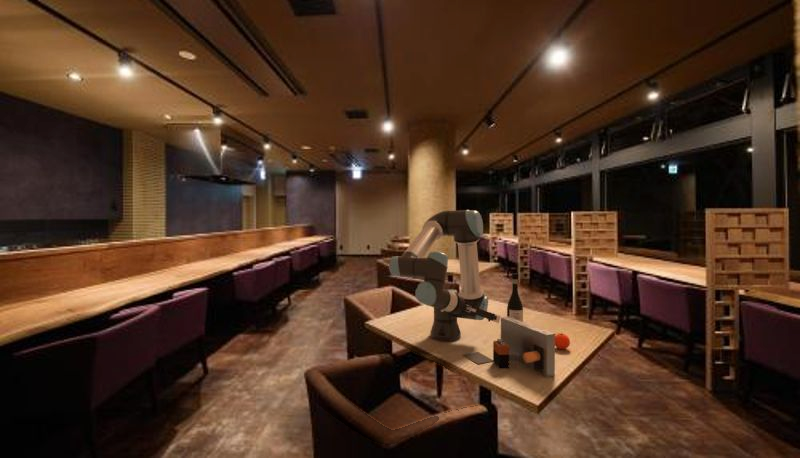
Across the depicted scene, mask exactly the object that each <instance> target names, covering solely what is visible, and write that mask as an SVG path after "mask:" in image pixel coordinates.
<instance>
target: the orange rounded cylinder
mask: <svg viewBox="0 0 800 458" xmlns="http://www.w3.org/2000/svg"><path fill="white" fill-rule="evenodd" d="M523 359H524V361H525V362H526V363H530V362H534V361H539V360H540V354H539V353H538V352H537V351H532V352H527V353H524V354H523Z"/></svg>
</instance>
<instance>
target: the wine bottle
mask: <svg viewBox="0 0 800 458" xmlns="http://www.w3.org/2000/svg"><path fill="white" fill-rule="evenodd" d="M511 274H512V275H511V277H512V290H511V295H510V298H509V300H508V303H507V308H506V317H511V318H513V319H516V320H519V321H522V322H524V306H523V302H522V299H521V297H520V295H519V286H518V285H519V282H518V281H519V280H518V279H519V274H518V273H516V272H515V273H513V272H512V273H511Z"/></svg>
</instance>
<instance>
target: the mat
mask: <svg viewBox="0 0 800 458" xmlns="http://www.w3.org/2000/svg"><path fill="white" fill-rule="evenodd" d="M462 356H463V357H465V358H467V359H468V360H470V361H472V362H473V363H475V364H476V365H478V366H479V365H482V364H483V365H485V364H488V363H492V362H493V358H490V357H488V356H486V355H485V354H483V353H481V352H479V351H477V352H476V351H475V352H470V353H464V354H462ZM493 363H494V362H493Z"/></svg>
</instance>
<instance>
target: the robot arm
mask: <svg viewBox="0 0 800 458" xmlns="http://www.w3.org/2000/svg"><path fill="white" fill-rule="evenodd" d="M483 234H484V223H483V218H482V214H480V212H479V211H477V210H470V209H463V210H459V209H458V210H443V211H440V212H438V213H435V214H434V215H432V216H431V217H429V218H428V219H427V220H426V221H425V222H424V223H423V226H422V229H421V231H420V232H419V233H418V234H417V236H416V237H415V238H414V240H413V241H412V242H411V243H410V245H408V247H407V248H406V250H405V251H404V252H403V253H402V254H401V256H399V255H397V256H392V257H391V258H390V260H389V263H388V270H389V272H390V275H392V276H394V277H399V278H418V279H419V278H420V279H424V280H423V281H422V282H420V283H418V285H417V288H416V289H415V298H416V300H417V301H418V302H419V303H421V304H423V305H426V306H427V307H428V306H429V307H432V308H433V322H432V326H431V329H430V332H429V335H430V336H429V337H430V338H432V339H433V340H435V341H440V342H455V341H458V340H460V339H461V337H462V334H461V330H460V327H459V323H458V319H465V320H466V319H467V320H474V321H483V320H484V319H486V320H487V322H492V321H493V322H494V323H496V324H499V323H500V322H501V318H502V316H501V315H498V314H495V313H494V312H491V311H488V307H489V297H488V296H487V295H485V292H484V290H483V289H481V283H480V282H481V281H480V268H479V267H480V266H479V254H478V244H477V243H478V242H479V241H480V238H481V237H482V236H483ZM445 236H446V237H447V236H448V237H453V241H454V242H455V243H456V244H457V248H458V249H457V251H458V259H459V261H458V263H459V271H460V273H459V274H460V281H461V283H460V284H461V289H460V291H459V292H458V291H457V290H456V289H446V288H445V286H446V279H447V271H448V268H449V267H448V263H449V257H448V255H447V254H446V253H444V252H442V251H430V250H431V248H432V247H433V245H434V244H435V242H436V241H437V240H440V239H441V238H442V237H445ZM429 251H430V252H429ZM428 252H429V253H428ZM427 253H428V255H427ZM426 255H427V257H426Z"/></svg>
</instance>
